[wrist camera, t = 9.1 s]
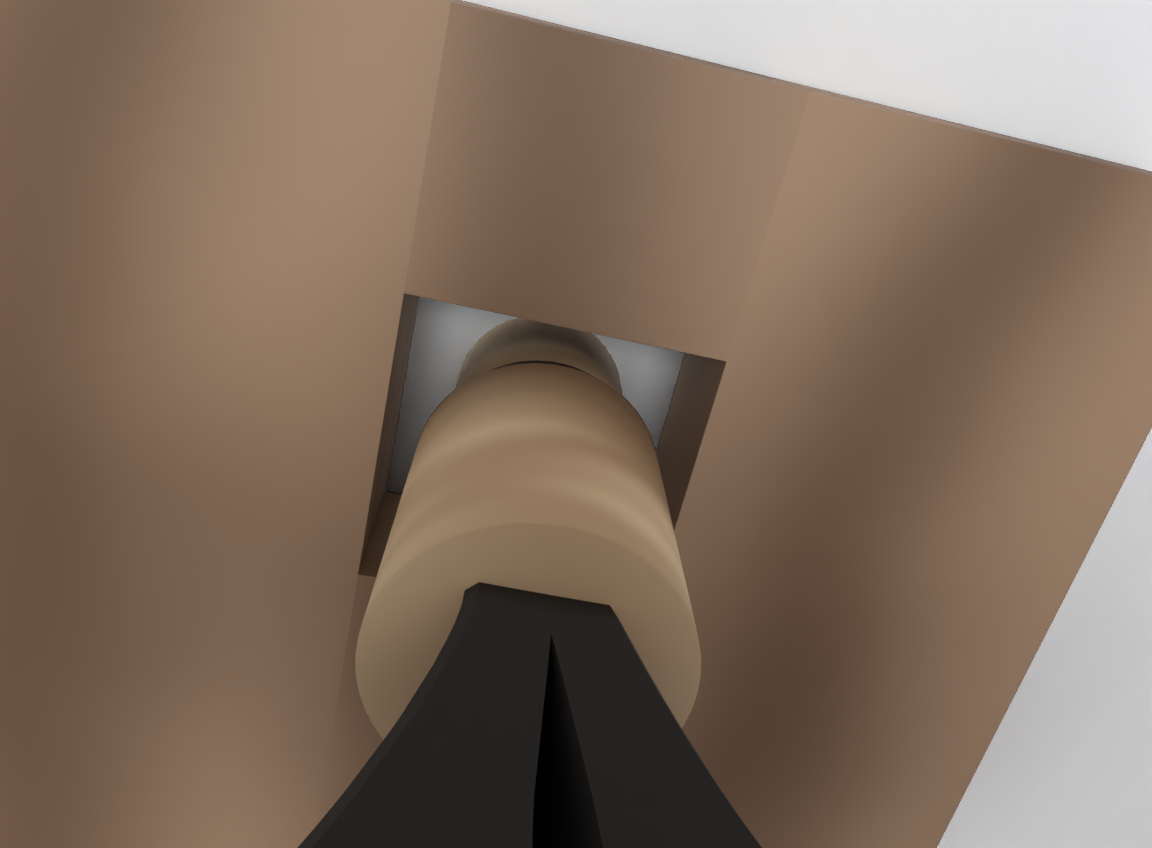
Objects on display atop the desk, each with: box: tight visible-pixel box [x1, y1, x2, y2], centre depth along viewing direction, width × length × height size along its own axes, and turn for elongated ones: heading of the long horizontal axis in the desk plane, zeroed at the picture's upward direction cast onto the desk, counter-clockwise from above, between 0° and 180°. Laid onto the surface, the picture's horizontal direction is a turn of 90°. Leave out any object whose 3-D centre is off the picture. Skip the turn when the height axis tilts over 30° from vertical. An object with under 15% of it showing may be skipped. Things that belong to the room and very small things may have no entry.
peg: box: [355, 318, 701, 740], centre depth 12 cm, size 3×3×7 cm
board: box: [0, 0, 1152, 848], centre depth 15 cm, size 18×15×2 cm
